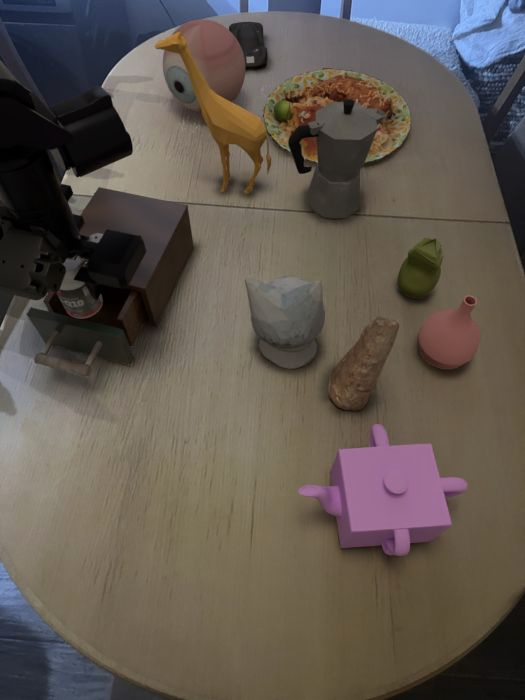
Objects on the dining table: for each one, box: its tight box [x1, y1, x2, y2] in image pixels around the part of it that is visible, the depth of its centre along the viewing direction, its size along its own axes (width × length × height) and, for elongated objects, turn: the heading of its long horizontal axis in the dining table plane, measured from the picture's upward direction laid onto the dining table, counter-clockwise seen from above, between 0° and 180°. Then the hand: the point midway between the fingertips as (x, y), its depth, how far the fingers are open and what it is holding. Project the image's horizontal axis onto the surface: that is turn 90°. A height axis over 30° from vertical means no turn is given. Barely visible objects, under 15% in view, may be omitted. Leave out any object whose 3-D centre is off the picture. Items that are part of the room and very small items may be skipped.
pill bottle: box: [56, 256, 103, 319], centre depth 62 cm, size 5×5×8 cm
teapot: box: [297, 423, 469, 557], centre depth 56 cm, size 18×14×10 cm
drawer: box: [26, 285, 148, 378], centre depth 69 cm, size 20×13×7 cm, turn 164°
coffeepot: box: [288, 99, 387, 220], centre depth 79 cm, size 15×9×18 cm, turn 110°
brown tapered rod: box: [327, 315, 400, 412], centre depth 60 cm, size 6×18×6 cm
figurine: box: [244, 275, 326, 370], centre depth 65 cm, size 10×9×15 cm
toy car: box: [228, 21, 268, 72], centre depth 109 cm, size 7×15×4 cm, turn 5°
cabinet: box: [80, 186, 195, 328], centre depth 74 cm, size 16×14×9 cm
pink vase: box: [417, 295, 482, 370], centre depth 66 cm, size 8×8×12 cm
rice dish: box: [262, 67, 412, 165], centre depth 96 cm, size 28×28×5 cm
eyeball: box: [162, 18, 246, 114], centre depth 94 cm, size 15×15×15 cm
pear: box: [397, 237, 444, 299], centre depth 73 cm, size 6×5×10 cm
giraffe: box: [154, 29, 272, 195], centre depth 78 cm, size 16×4×25 cm, turn 79°
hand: (78, 292), depth 63 cm, fingers closed on pill bottle, 5 cm apart
